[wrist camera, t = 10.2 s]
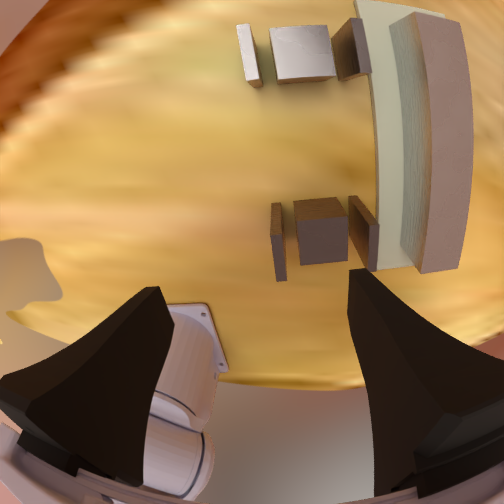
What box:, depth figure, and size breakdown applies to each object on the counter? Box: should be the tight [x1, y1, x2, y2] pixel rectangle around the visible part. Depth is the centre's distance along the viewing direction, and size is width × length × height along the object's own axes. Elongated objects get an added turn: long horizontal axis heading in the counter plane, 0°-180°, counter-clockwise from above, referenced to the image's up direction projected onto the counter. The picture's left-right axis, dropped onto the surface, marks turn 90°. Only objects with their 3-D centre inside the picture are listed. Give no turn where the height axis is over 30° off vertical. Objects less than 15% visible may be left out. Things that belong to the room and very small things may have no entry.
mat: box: [354, 0, 445, 270], centre depth 16 cm, size 20×7×1 cm, turn 9°
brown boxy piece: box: [270, 196, 380, 282], centre depth 17 cm, size 3×6×5 cm, turn 99°
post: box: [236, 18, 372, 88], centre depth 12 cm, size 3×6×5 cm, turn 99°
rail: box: [389, 11, 473, 274], centre depth 14 cm, size 16×3×4 cm, turn 9°
